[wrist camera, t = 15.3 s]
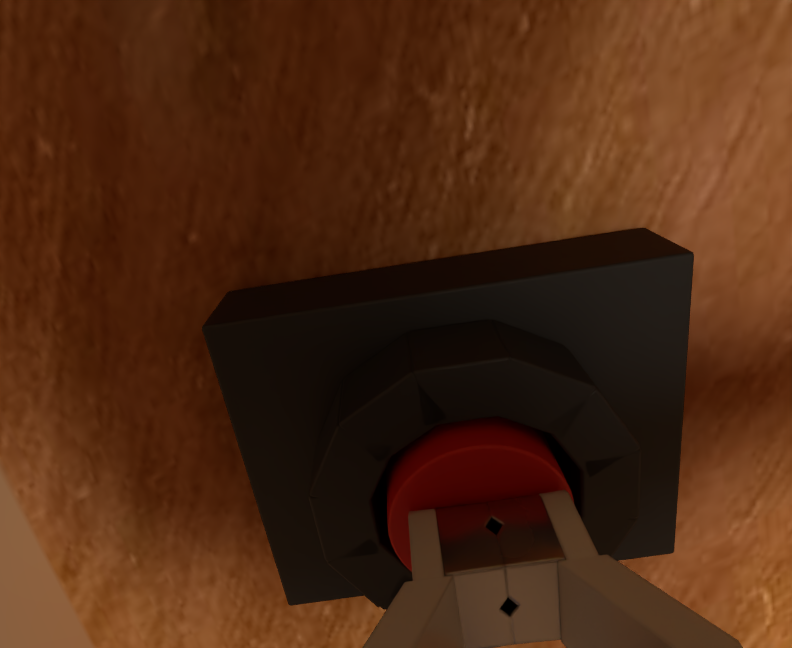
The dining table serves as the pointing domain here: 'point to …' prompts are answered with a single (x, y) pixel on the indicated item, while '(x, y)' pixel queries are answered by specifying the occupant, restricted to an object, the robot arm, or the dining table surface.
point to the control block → (457, 391)
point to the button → (467, 471)
